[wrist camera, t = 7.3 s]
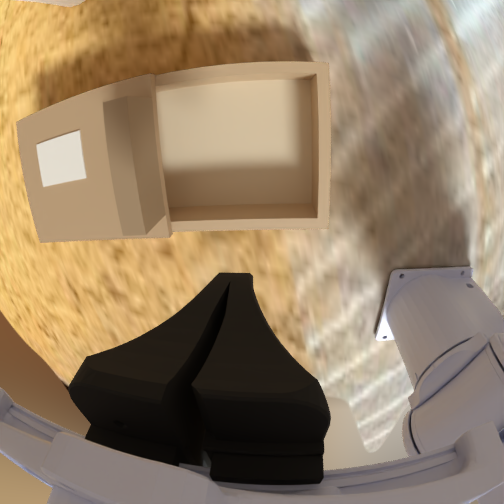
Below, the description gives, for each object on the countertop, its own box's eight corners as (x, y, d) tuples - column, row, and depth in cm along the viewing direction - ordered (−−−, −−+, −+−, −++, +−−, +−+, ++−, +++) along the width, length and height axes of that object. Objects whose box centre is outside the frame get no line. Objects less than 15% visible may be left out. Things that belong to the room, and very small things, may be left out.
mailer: (318, 72, 16) (328, 62, 13) (319, 210, 20) (328, 229, 17) (146, 86, 17) (122, 83, 14) (161, 214, 21) (142, 233, 18)
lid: (154, 74, 13) (125, 66, 10) (172, 233, 18) (151, 261, 14) (21, 120, 14) (-12, 128, 11) (44, 239, 19) (17, 260, 15)
